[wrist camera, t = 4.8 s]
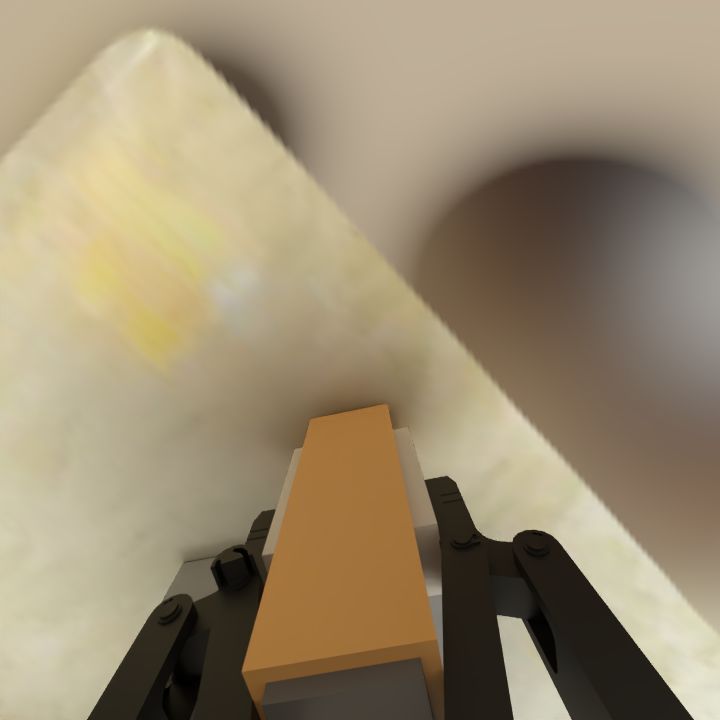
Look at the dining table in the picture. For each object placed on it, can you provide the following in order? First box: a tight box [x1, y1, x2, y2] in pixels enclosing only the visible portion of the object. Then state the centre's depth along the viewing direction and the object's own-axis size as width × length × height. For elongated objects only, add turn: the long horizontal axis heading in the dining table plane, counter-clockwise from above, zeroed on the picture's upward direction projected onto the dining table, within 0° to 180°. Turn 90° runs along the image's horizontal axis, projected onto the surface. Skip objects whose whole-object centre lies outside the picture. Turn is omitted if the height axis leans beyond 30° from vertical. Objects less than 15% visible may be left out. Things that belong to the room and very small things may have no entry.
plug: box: [242, 404, 445, 720], centre depth 14 cm, size 4×4×12 cm
